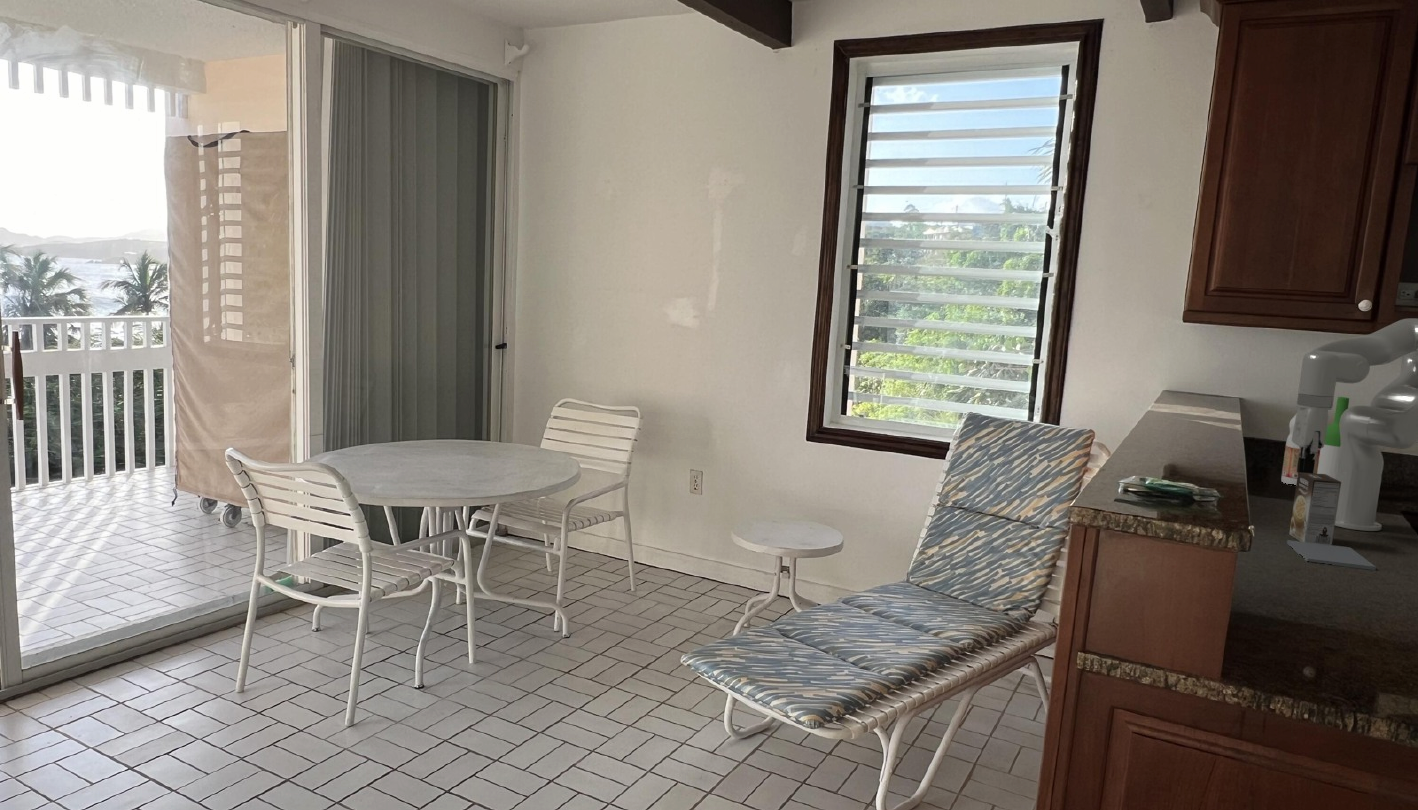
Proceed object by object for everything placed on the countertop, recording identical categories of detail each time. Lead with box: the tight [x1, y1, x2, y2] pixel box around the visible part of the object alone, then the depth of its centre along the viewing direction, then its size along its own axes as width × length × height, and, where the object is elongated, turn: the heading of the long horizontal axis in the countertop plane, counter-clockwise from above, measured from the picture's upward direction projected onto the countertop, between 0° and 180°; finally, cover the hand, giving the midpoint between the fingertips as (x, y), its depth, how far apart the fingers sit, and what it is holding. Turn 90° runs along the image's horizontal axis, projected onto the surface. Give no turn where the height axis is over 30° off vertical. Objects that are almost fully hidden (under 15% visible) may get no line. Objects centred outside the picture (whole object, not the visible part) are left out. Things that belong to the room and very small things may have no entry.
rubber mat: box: [1286, 539, 1377, 571], centre depth 208 cm, size 16×13×1 cm
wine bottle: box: [1317, 396, 1350, 479], centre depth 275 cm, size 8×8×30 cm
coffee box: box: [1289, 472, 1341, 545], centre depth 221 cm, size 9×6×16 cm
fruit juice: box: [1280, 412, 1321, 485], centre depth 289 cm, size 9×9×28 cm
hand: (1304, 473), depth 230 cm, fingers closed
